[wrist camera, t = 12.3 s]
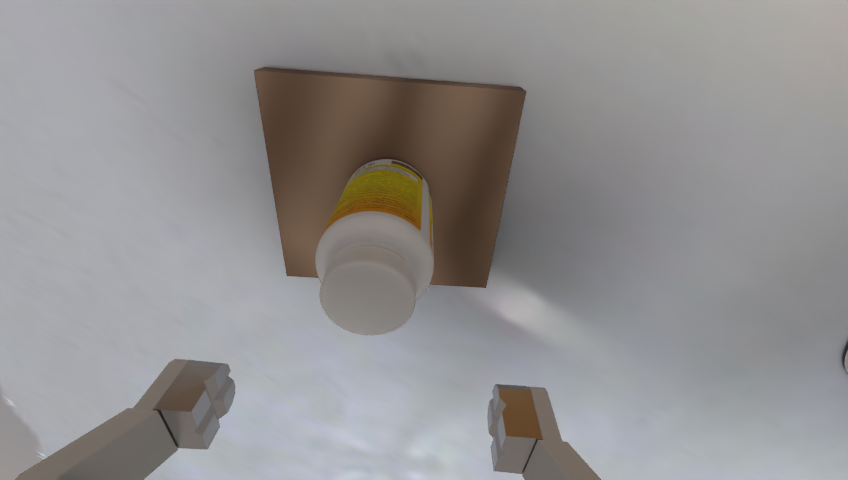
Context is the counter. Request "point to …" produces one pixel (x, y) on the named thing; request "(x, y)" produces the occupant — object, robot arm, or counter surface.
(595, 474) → the robot arm
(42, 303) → the counter surface
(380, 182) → the supplement bottle
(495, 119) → the walnut board
